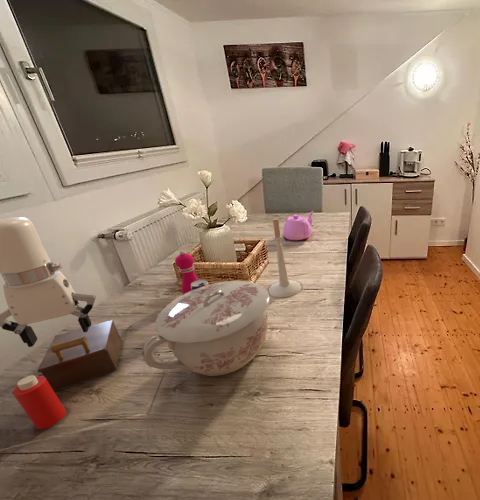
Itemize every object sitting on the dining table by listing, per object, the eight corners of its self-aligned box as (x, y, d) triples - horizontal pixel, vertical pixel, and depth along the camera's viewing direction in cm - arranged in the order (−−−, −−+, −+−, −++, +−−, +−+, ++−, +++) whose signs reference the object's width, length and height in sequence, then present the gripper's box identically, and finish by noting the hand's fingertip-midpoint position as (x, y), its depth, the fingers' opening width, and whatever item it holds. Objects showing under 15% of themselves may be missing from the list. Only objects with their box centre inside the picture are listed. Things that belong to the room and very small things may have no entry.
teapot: (326, 235, 170) (325, 213, 165) (297, 245, 156) (295, 221, 151) (304, 227, 184) (302, 207, 179) (275, 236, 170) (272, 214, 165)
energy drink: (204, 318, 96) (196, 288, 92) (195, 313, 99) (186, 284, 94) (218, 310, 101) (210, 281, 96) (209, 306, 103) (201, 277, 99)
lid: (106, 351, 72) (99, 336, 70) (38, 372, 66) (28, 357, 64) (113, 321, 83) (107, 308, 81) (56, 338, 77) (48, 323, 75)
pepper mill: (209, 295, 110) (196, 249, 102) (191, 304, 104) (176, 256, 97) (198, 291, 114) (186, 245, 106) (180, 299, 108) (166, 252, 100)
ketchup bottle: (32, 434, 60) (1, 392, 55) (46, 414, 64) (20, 374, 59) (59, 427, 61) (32, 386, 56) (72, 408, 66) (47, 368, 61)
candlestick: (299, 279, 120) (291, 211, 108) (303, 295, 108) (294, 220, 97) (268, 284, 117) (257, 215, 105) (269, 300, 105) (256, 224, 94)
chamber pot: (278, 318, 95) (269, 263, 87) (276, 383, 70) (264, 315, 62) (189, 332, 90) (171, 275, 82) (153, 407, 65) (122, 337, 57)
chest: (117, 371, 76) (106, 349, 73) (54, 394, 70) (39, 370, 66) (122, 342, 86) (113, 321, 83) (68, 359, 80) (56, 338, 77)
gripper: (84, 259, 69) (108, 316, 75) (-21, 276, 60) (16, 340, 67) (77, 270, 63) (104, 332, 70) (-40, 292, 54) (2, 359, 61)
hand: (61, 335), depth 68 cm, fingers open, 9 cm apart
